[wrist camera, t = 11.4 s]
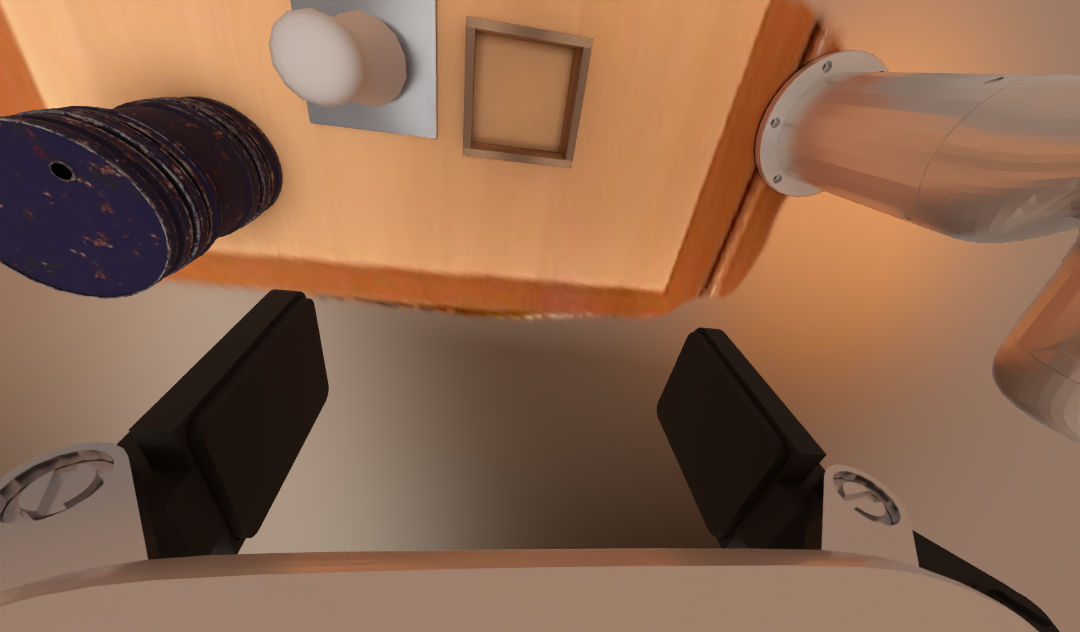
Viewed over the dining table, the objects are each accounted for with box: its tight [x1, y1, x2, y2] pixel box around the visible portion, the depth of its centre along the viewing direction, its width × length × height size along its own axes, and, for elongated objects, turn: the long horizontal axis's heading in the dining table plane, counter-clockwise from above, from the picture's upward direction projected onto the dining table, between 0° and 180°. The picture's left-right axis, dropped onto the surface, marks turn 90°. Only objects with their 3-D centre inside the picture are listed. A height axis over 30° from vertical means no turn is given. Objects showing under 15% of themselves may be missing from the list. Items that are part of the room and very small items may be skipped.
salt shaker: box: [269, 8, 407, 107], centre depth 25 cm, size 6×6×13 cm
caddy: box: [463, 16, 593, 168], centre depth 32 cm, size 9×9×4 cm
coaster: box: [291, 0, 437, 138], centre depth 30 cm, size 10×10×1 cm
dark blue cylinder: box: [0, 97, 282, 298], centre depth 27 cm, size 10×10×15 cm
